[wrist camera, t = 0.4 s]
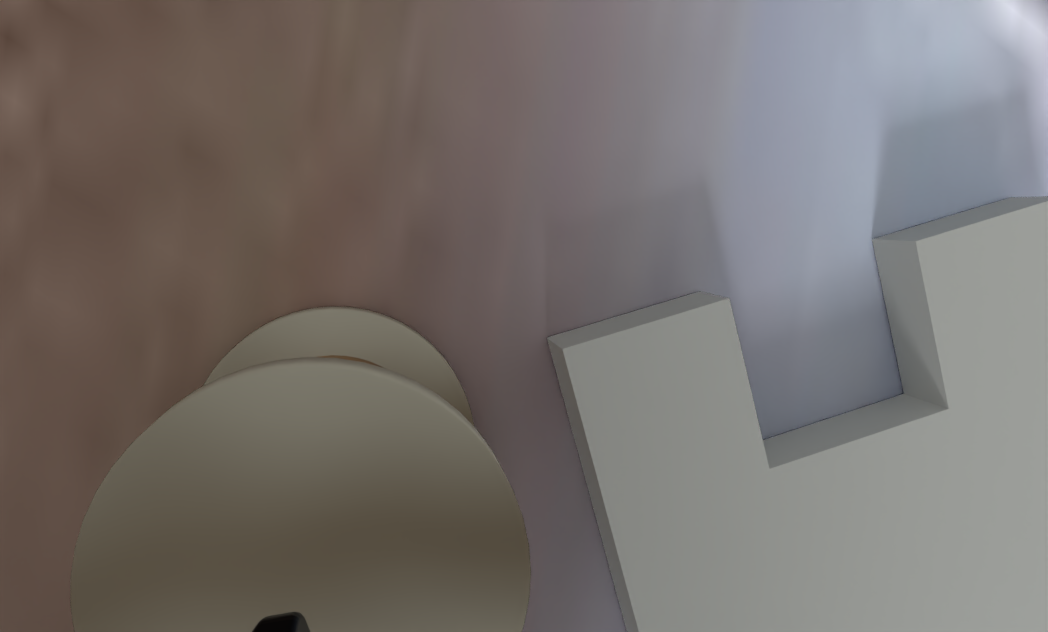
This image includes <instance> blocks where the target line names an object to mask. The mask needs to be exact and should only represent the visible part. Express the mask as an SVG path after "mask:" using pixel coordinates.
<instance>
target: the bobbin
mask: <svg viewBox="0 0 1048 632" xmlns="http://www.w3.org/2000/svg"><path fill="white" fill-rule="evenodd" d="M530 577H531V567H530V554H529V543H528V538H527V534H526V529H525V524H524V520H523V516H522V514H521V511H520V508H519V505H518V503H517V500H516V497H515V494H514V492H513V490H512V488H511V486H510V484H509V482H508V480H507V478H506V476H505V474H504V472H503V470H502V468H501V466H500V464H499V462H498V460H497V459H496V457H495V455H494V453H493V451H492V450H491V448H490V447H489V446H488V444H487V443H486V441H485V440H484V439H483V437H482V436H481V435H480V433H479V432H478V430H477V429H476V428H475V427H474V423H473V418H472V414H471V409H470V406H469V404H468V401H467V398H466V395H465V393H464V391H463V389H462V387H461V385H460V383H459V381H458V379H457V377H456V375H455V373H454V371H453V369H452V368H451V367H450V365H449V364H448V362H447V361H446V360H445V358H444V357H443V356H442V354H441V353H440V352H439V351H438V350H437V349H436V348H435V347H434V346H433V345H432V344H431V343H430V342H429V341H428V340H426V339H425V338H424V337H423V336H422V335H420V334H419V333H418V332H417V331H415V330H413V329H412V328H410V327H408V326H407V325H405V324H404V323H402V322H400V321H398V320H395V319H393V318H391V317H389V316H386V315H384V314H380V313H377V312H374V311H370V310H366V309H360V308H354V307H341V306H328V307H317V308H310V309H306V310H301V311H297V312H293V313H290V314H288V315H285V316H282V317H279V318H277V319H275V320H273V321H271V322H269V323H267V324H265V325H263V326H261V327H260V328H258V329H257V330H255V331H254V332H252V333H251V334H250V335H248V336H247V337H245V338H244V339H243V340H242V341H241V342H240V343H239V344H238V345H236V346H235V347H234V348H233V349H232V350H231V351H230V352H229V353H228V354H227V355H226V356H225V357H224V358H223V359H222V360H221V361H220V363H219V364H218V365H217V366H216V367H215V368H214V370H213V371H212V372H211V374H210V376H209V377H208V379H207V380H206V382H205V383H204V385H203V386H202V387H201V388H199V389H197V390H195V391H194V392H192V393H191V394H189V395H188V396H186V397H185V398H183V399H182V400H181V401H179V402H178V403H176V404H175V405H173V406H172V407H171V408H170V409H169V410H167V411H166V412H165V413H164V414H163V415H162V416H161V417H160V418H159V419H157V420H156V421H155V422H154V423H153V424H152V425H151V426H150V427H149V428H148V429H146V430H145V431H144V432H143V433H142V434H141V435H140V436H139V437H138V438H137V439H136V440H135V441H134V442H133V443H132V444H131V445H130V446H129V447H128V449H127V450H126V451H125V452H124V453H123V454H122V456H121V457H120V458H119V459H118V460H117V462H116V463H115V464H114V465H113V466H112V468H111V469H110V471H109V473H108V474H107V476H106V477H105V479H104V480H103V482H102V484H101V485H100V487H99V488H98V490H97V491H96V493H95V496H94V498H93V500H92V502H91V504H90V506H89V509H88V511H87V513H86V515H85V517H84V519H83V523H82V526H81V530H80V533H79V536H78V540H77V543H76V546H75V551H74V558H73V565H72V571H71V613H72V620H73V627H74V632H252V631H253V629H254V628H255V626H256V625H257V623H258V622H259V621H260V620H261V619H263V618H264V617H267V616H271V615H277V614H282V613H288V612H299V613H301V614H302V615H303V616H304V618H305V620H306V622H307V624H308V627H309V629H310V632H522V629H523V626H524V623H525V617H526V612H527V607H528V602H529V594H530Z"/></svg>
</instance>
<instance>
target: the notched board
mask: <svg viewBox="0 0 1048 632" xmlns="http://www.w3.org/2000/svg"><path fill="white" fill-rule="evenodd" d="M872 242H873V247H874V252H875V256H876V261H877V266H878V271H879V276H880V281H881V285H882V290H883V295H884V300H885V305H886V310H887V314H888V319H889V324H890V329H891V334H892V339H893V343H894V348H895V353H896V358H897V363H898V368H899V372H900V377H901V382H902V387H903V392H904V394H901V395H898V396H895V397H892V398H889V399H886V400H883V401H880V402H877V403H874V404H871V405H868V406H865V407H862V408H859V409H856V410H853V411H850V412H847V413H844V414H841V415H838V416H835V417H832V418H829V419H825V420H822V421H819V422H816V423H813V424H810V425H807V426H804V427H801V428H798V429H795V430H792V431H789V432H786V433H783V434H780V435H777V436H774V437H771V438H768V439H765V440H763V439H762V435H761V430H760V426H759V422H758V418H757V413H756V409H755V405H754V401H753V396H752V392H751V388H750V384H749V380H748V375H747V371H746V367H745V363H744V358H743V354H742V350H741V346H740V341H739V337H738V333H737V329H736V324H735V320H734V316H733V312H732V308H731V303H730V299H729V298H726V297H722V296H718V295H714V294H709V293H705V292H701V291H699V292H696V293H693V294H689V295H686V296H683V297H679V298H676V299H673V300H669V301H666V302H663V303H659V304H656V305H653V306H650V307H646V308H643V309H640V310H636V311H633V312H630V313H626V314H623V315H620V316H617V317H613V318H610V319H607V320H603V321H600V322H597V323H593V324H590V325H587V326H583V327H580V328H577V329H574V330H570V331H567V332H564V333H560V334H557V335H554V336H550V337H547V341H548V345H549V348H550V352H551V356H552V359H553V363H554V367H555V370H556V374H557V378H558V381H559V385H560V389H561V392H562V396H563V400H564V403H565V407H566V411H567V414H568V418H569V422H570V425H571V429H572V433H573V436H574V440H575V444H576V447H577V451H578V455H579V458H580V462H581V466H582V469H583V473H584V477H585V480H586V484H587V488H588V491H589V495H590V499H591V502H592V506H593V510H594V513H595V517H596V521H597V524H598V528H599V532H600V535H601V539H602V543H603V546H604V550H605V554H606V557H607V561H608V565H609V568H610V572H611V576H612V579H613V583H614V587H615V590H616V594H617V598H618V601H619V605H620V609H621V612H622V616H623V620H624V623H625V627H626V631H627V632H1048V196H1043V197H1010V198H1007V199H1003V200H1000V201H997V202H993V203H990V204H987V205H983V206H980V207H977V208H973V209H970V210H967V211H964V212H960V213H957V214H954V215H950V216H947V217H944V218H940V219H937V220H934V221H931V222H927V223H924V224H921V225H917V226H914V227H911V228H907V229H904V230H901V231H897V232H894V233H891V234H888V235H884V236H881V237H878V238H874V239H872Z"/></svg>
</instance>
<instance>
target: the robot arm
mask: <svg viewBox="0 0 1048 632" xmlns="http://www.w3.org/2000/svg"><path fill="white" fill-rule="evenodd" d="M252 632H310V629H309V627H308V624H307V622H306V620H305V618H304V616H303V615H302V614H301V613H299V612H288V613H282V614H277V615H271V616H267V617H264V618H263V619H261V620H260V621H259V622H258V623H257V625H256V626H255V628H254V629H253V631H252Z"/></svg>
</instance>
